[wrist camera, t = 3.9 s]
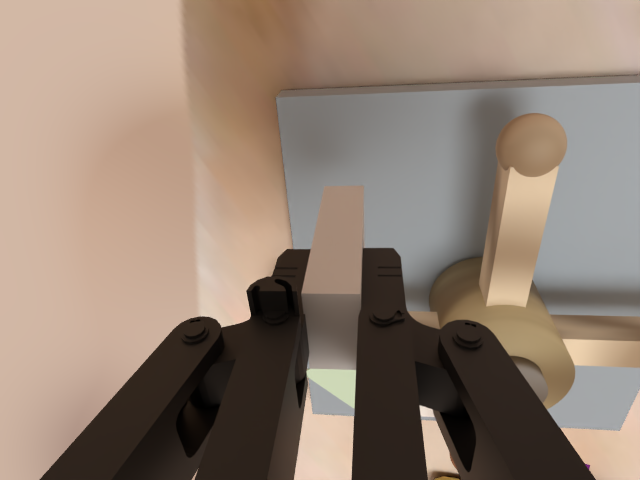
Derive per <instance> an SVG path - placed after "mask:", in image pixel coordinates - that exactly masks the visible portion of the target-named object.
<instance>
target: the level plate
mask: <svg viewBox="0 0 640 480" xmlns="http://www.w3.org/2000/svg"><path fill="white" fill-rule="evenodd" d="M276 105H277V114H278V122H279V131H280V139H281V148H282V156H283V165H284V173H285V182H286V190H287V199H288V207H289V216H290V224H291V233H292V241H293V249H311V246H312V241H313V237H314V232H315V228H316V223H317V218H318V214H319V209H320V204H321V200H322V195H323V190H324V186H364V240H365V248H394V249H395V250H396V252H397V253H398V254H399V255H400V256H401V264H402V273H403V283H404V292H405V301H406V308H407V311H424V312H430V306H429V294H430V291H431V288H432V286H433V284H434V282H435V281H436V279H437V278H438V277H439V276H440V275H441V274H442V273H443V272H444V271H445V270H446V269H448V268H449V267H451V266H453V265H455V264H457V263H459V262H461V261H464V260H467V259H471V258H476V257H483V254H484V248H485V241H486V235H487V229H488V222H489V216H490V209H491V203H492V197H493V190H494V184H495V178H496V171H497V165H498V160H497V157H496V150H495V148H496V141H497V138H498V136H499V134H500V132H501V130H502V129H503V128H504V126H505V125H506V124H507V123H509V122H510V121H511V120H513V119H514V118H516V117H518V116H521V115H524V114H529V113H541V114H545V115H548V116H550V117H552V118H554V119H555V120H557V121H558V122H559V123H560V124H561V126H562V127H563V129H564V130H565V133H566V136H567V150H566V154H565V156H564V158H563V160H562V161H561V163H560V164H559V165H558V166H559V169H558V173H557V177H556V182H555V186H554V190H553V194H552V199H551V203H550V207H549V211H548V215H547V220H546V224H545V228H544V232H543V236H542V241H541V245H540V249H539V253H538V258H537V262H536V266H535V270H534V274H533V279H532V280H533V282H534V284H535V286H536V288H537V290H538V292H539V294H540V296H541V298H542V300H543V302H544V304H545V306H546V308H547V310H548V312H549V314H553V315H595V316H638V317H640V75H623V76H600V77H577V78H554V79H530V80H507V81H484V82H461V83H438V84H414V85H391V86H368V87H345V88H322V89H298V90H281V91H280V93H279V94H278V95H277V96H276ZM574 366H575V379H574V383H573V385H572V387H571V389H570V390H569V392H568V393H567V395H566V396H565V397H564V398H563V399H562V400H560V401H559V402H558V403H557V404H555V405H554V406H552V407H551V408H549V409H547V410H548V412H549V413H550V415H551V416H552V418H553V419H554V420H555V422H556V423H557V425H558V426H559V427H561V428H579V429H597V430H616V431H620V429H621V427H622V425H623V423H624V421H625V419H626V416H627V414H628V412H629V410H630V408H631V406H632V404H633V402H634V400H635V398H636V396H637V393H638V391H639V389H640V368H632V367H605V366H579V365H574ZM306 372H307V377H308V378H309V386H310V395H311V403H312V412H313V414H325V415H343V416H354V409H355V384H356V370H339V369H310V367H309V358H308V365H307V371H306ZM420 414H421V420H434V421H436V419H435V416H434V414H433V409H430V408H427V407H424V406H421V405H420Z"/></svg>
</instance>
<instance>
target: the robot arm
mask: <svg viewBox="0 0 640 480" xmlns="http://www.w3.org/2000/svg"><path fill="white" fill-rule="evenodd" d="M247 296H248V301H249V307H250V312H251V317H250V319H249V320H247V321H245V322H243V323H239V324H236V325H231V326H227V327H222V328H221V325H220V324H219V323H218V321H217V320H215V319H213V318H210V317H196V318H191V319H189V320H186V321H184V322H182V323H180V324H179V325H178V326H177V327H176V328H175V329H173V331H172V332H171V333H170V334H169V335H168V336H167V337H166V338H165V340H164V341H163V342H162V343H161V344H160V345H159V346H158V348H157V349H156V350H155V351H154V352H153V353H152V354H151V355H150V356H149V357H148V359H147V360H146V361H145V362H144V363H143V364H142V365H141V366H140V368H139V369H138V370H137V371H136V372H135V373H134V374H133V376H132V377H131V378H130V379H129V380H128V381H127V382H126V383H125V385H124V386H123V387H122V388H121V389H120V390H119V391H118V392H117V394H116V395H115V396H114V397H113V398H112V399H111V400H110V401H109V402H108V404H107V405H106V406H105V407H104V408H103V409H102V410H101V411H100V412H99V414H98V415H97V416H96V417H95V418H94V419H93V420H92V421H91V423H90V424H89V425H88V426H87V427H86V428H85V430H84V431H83V432H82V433H81V434H80V435H79V436H78V437H77V438H76V439H75V441H74V442H73V443H72V444H71V445H70V446H69V447H68V448H67V450H66V451H65V452H64V453H63V454H62V455H61V456H60V457H59V459H58V460H57V461H56V462H55V463H54V464H53V465H52V466H51V468H50V469H49V470H48V471H47V472H46V473H45V474H44V475H43V477H42V478H41V479H40V480H192V478H193V476H194V475H195V473H196V471H197V470H198V471H197V475H196V477H195V480H294V474H295V467H296V461H297V454H298V447H299V440H300V434H301V427H302V420H303V413H304V407H305V400H306V393H307V386H308V381H307V372H306V371H307V365H308V358H309V367H310V369H339V370H356V384H355V409H354V435H353V460H352V480H428V477H427V468H426V459H425V450H424V441H423V432H422V423H421V414H420V405H421V406H424V407H427V408H430V409H433V414H434V416H435V419H436V421H437V423H438V426H439V428H440V430H441V433H442V435H443V437H444V440H445V442H446V445H447V447H448V449H449V452H450V454H451V456H452V459H453V461H454V463H455V466H456V468H457V470H458V473H459V475H460V477H461V480H596V479H595V478H594V476H593V475H592V474H591V472H590V471H589V469H588V468H587V466H586V465H585V463H584V462H583V461H582V459H581V458H580V456H579V455H578V453H577V452H576V451H575V449H574V448H573V446H572V445H571V443H570V442H569V441H568V439H567V438H566V436H565V435H564V433H563V432H562V430H561V429H560V428H559V426H558V425H557V423H556V422H555V420H554V419H553V418H552V416H551V415H550V413H549V412H548V410H547V409H546V408H545V406H544V405H543V403H542V402H541V400H540V399H539V397H538V396H537V395H536V393H535V392H534V390H533V389H532V387H531V386H530V385H529V383H528V382H527V380H526V379H525V377H524V376H523V375H522V373H521V372H520V370H519V369H518V367H517V366H516V364H515V363H514V362H513V360H512V359H511V357H510V356H509V354H508V353H507V352H506V350H505V349H504V347H503V346H502V344H501V343H500V342H499V340H498V339H497V337H496V336H495V334H494V333H493V332H492V331H491V330H490V329H489V328H488V327H486V326H484V325H482V324H480V323H478V322H475V321H471V320H454V321H451V322H448V323H447V324H445V325H444V326H443V327H442V328H441V329H437V328H433V327H430V326H427V325H424V324H421V323H420V322H418V321H416V320H415V319H414V318H413V317H411V316H410V314H409V313H408V311H407V308H406V301H405V292H404V283H403V273H402V264H401V256H400V255H399V254H398V253H397V252H396V250H395V249H394V248H365V240H364V186H324V190H323V195H322V200H321V204H320V209H319V214H318V218H317V223H316V228H315V232H314V237H313V241H312V246H311V249H287V250H286V251H284V252H283V253H282V254H281V255H280V256H279V257H278V259H277V262H276V266H275V269H274V272H273V275H272V276H271V277H265V278H262V279H260V280H257V281H256V282H254V283H253V284H251V285H250V287H249V288H248V289H247Z"/></svg>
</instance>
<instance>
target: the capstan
mask: <svg viewBox="0 0 640 480" xmlns="http://www.w3.org/2000/svg"><path fill="white" fill-rule="evenodd" d="M495 150H496V157H497V160H498V165H497V171H496V178H495V184H494V190H493V197H492V203H491V209H490V216H489V222H488V229H487V235H486V241H485V248H484V254H483V257H476V258H471V259H467V260H464V261H461V262H459V263H457V264H455V265H453V266H451V267H449V268H448V269H446V270H445V271H444V272H443V273H442V274H441V275H440V276H439V277H438V278H437V279H436V281H435V282H434V284H433V286H432V288H431V291H430V294H429V306H430V312H424V311H408V313H409V314H410V316H411V317H413V318H414V319H415V320H416V321H418V322H420V323H421V324H424V325H427V326H430V327H433V328H437V329H441V328H442V327H443V326H444V325H445V324H447V323H448V322H451V321H454V320H471V321H475V322H478V323H480V324H482V325H484V326H486V327H488V328H489V329H490V330H491V331H492V332H493V333H494V334H495V336H496V337H497V339H498V340H499V342H500V343H501V344H502V346H503V347H504V349H505V350H506V352H507V353H508V354H509V356H510V357H511V359H512V360H513V362H514V363H515V364H516V366H517V367H518V369H519V370H520V372H521V373H522V375H523V376H524V377H525V379H526V380H527V382H528V383H529V385H530V386H531V387H532V389H533V390H534V392H535V393H536V395H537V396H538V397H539V399H540V400H541V402H542V403H543V405H544V406H545V408H546V409H549V408H551V407H552V406H554V405H555V404H557V403H558V402H559V401H560V400H562V399H563V398H564V397H565V396H566V395H567V393H568V392H569V390H570V389H571V387H572V385H573V383H574V379H575V366H574V365H579V366H605V367H632V368H640V317H638V316H595V315H553V314H549V312H548V310H547V308H546V306H545V304H544V302H543V300H542V298H541V296H540V294H539V292H538V290H537V288H536V286H535V284H534V282H533V280H532V279H533V274H534V270H535V266H536V262H537V258H538V253H539V249H540V245H541V241H542V236H543V232H544V228H545V224H546V220H547V215H548V211H549V207H550V203H551V199H552V194H553V190H554V186H555V182H556V177H557V173H558V169H559V166H558V165H559V164H560V163H561V161H562V160H563V158H564V156H565V154H566V150H567V136H566V133H565V130H564V129H563V127H562V126H561V124H560V123H559V122H558V121H557V120H555V119H554V118H552V117H550V116H548V115H545V114H541V113H529V114H524V115H521V116H518V117H516V118H514V119H513V120H511V121H510V122H509V123H507V124H506V125H505V126H504V128H503V129H502V130H501V132H500V134H499V136H498V138H497V141H496V148H495ZM450 458H451V461H452V463H453V465H454V466H455V463H454V461H453V459H452V456H451V454H450ZM455 468H456V466H455ZM456 469H457V468H456Z"/></svg>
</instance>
